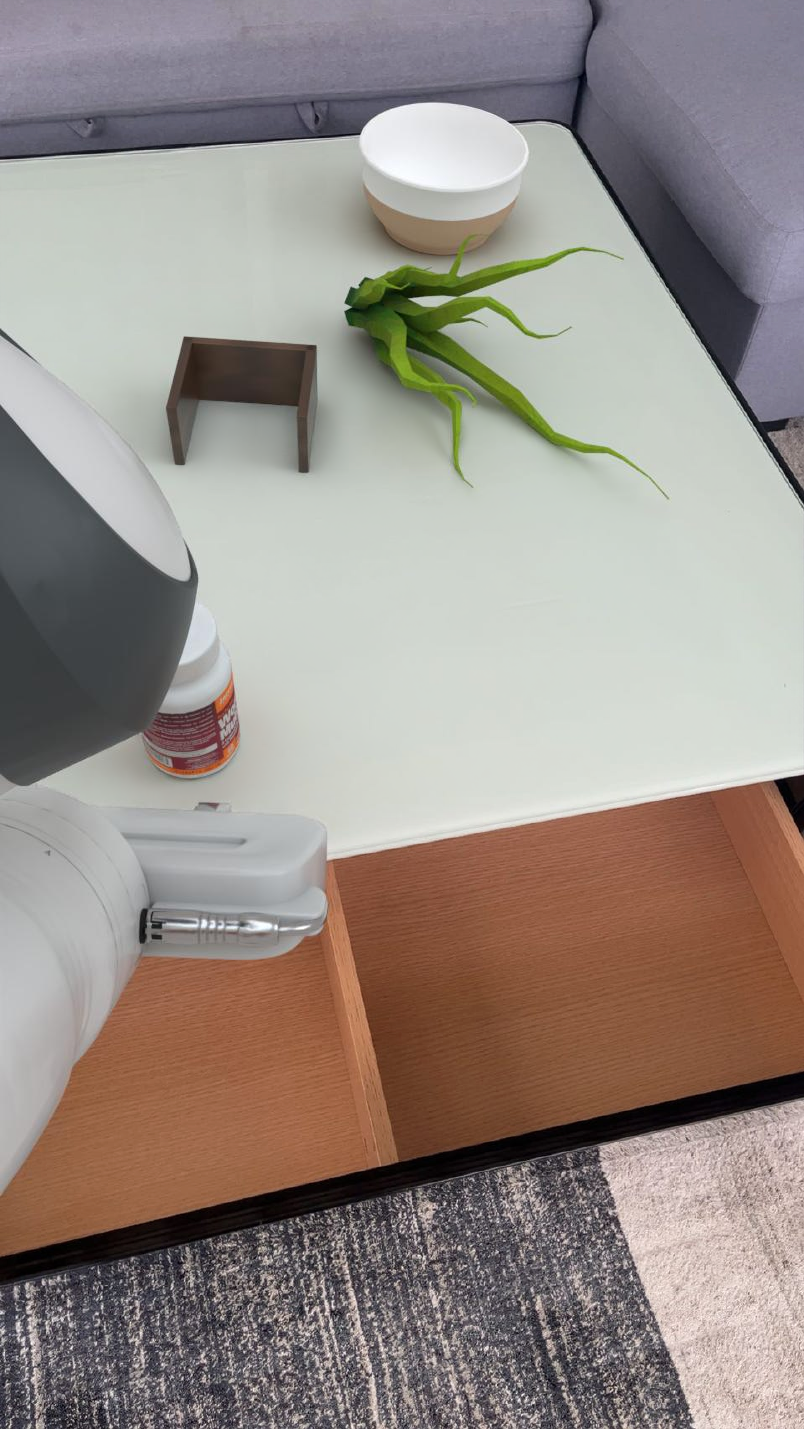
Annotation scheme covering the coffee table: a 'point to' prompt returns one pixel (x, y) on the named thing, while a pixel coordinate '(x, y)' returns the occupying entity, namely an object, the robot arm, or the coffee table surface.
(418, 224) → the bowl
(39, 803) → the robot arm
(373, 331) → the decorative plant
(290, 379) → the u-shaped stand
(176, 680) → the pill bottle
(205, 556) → the coffee table surface
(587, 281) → the coffee table surface
